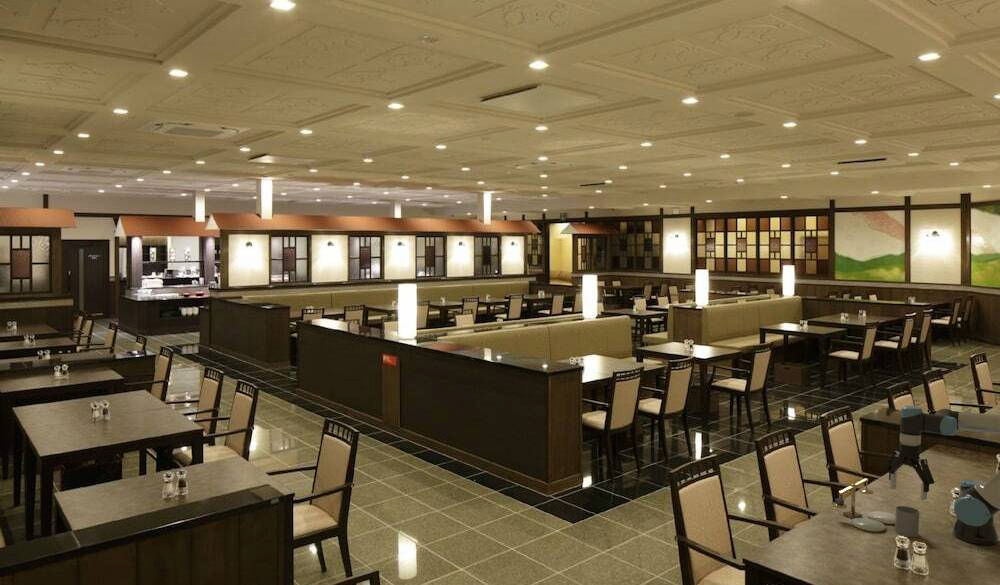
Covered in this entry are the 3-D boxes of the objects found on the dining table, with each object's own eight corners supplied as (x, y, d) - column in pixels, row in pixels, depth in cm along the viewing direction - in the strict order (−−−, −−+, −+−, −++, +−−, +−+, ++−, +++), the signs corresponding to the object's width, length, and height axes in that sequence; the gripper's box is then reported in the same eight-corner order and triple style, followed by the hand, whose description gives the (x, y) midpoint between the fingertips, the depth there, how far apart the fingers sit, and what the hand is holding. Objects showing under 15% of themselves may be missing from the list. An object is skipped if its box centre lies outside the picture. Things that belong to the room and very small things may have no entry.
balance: (864, 510, 310) (865, 476, 309) (875, 514, 305) (876, 479, 304) (829, 517, 301) (830, 481, 300) (839, 521, 296) (841, 485, 295)
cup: (921, 538, 280) (922, 514, 279) (899, 536, 281) (900, 512, 281) (913, 530, 288) (914, 506, 287) (892, 528, 290) (893, 505, 289)
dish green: (892, 529, 288) (892, 527, 288) (870, 534, 283) (870, 531, 283) (865, 518, 300) (865, 516, 300) (844, 523, 295) (844, 520, 295)
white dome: (908, 522, 296) (908, 519, 296) (887, 526, 291) (887, 524, 291) (881, 512, 308) (881, 509, 308) (861, 516, 303) (861, 513, 303)
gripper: (945, 450, 273) (943, 502, 274) (889, 435, 296) (887, 483, 297) (933, 452, 270) (930, 505, 271) (876, 437, 293) (875, 485, 294)
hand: (908, 493), depth 284 cm, fingers open, 13 cm apart
